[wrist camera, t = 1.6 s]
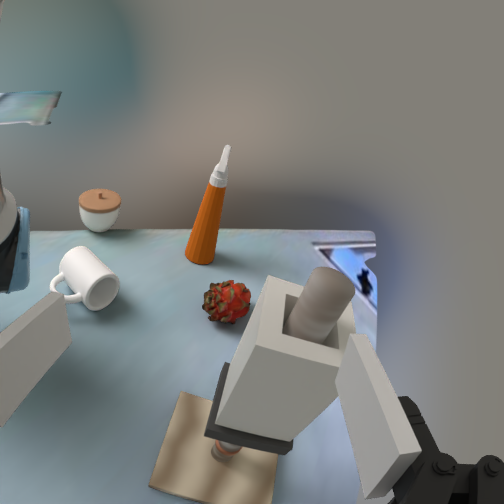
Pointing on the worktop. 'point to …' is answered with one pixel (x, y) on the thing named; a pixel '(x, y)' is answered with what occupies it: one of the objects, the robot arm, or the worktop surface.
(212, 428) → the thin dark grey plate
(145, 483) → the worktop surface
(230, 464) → the pipe stand
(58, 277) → the mug
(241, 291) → the dragon fruit
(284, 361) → the sleeve
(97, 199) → the lidded jar
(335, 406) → the worktop surface
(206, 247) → the spray bottle
